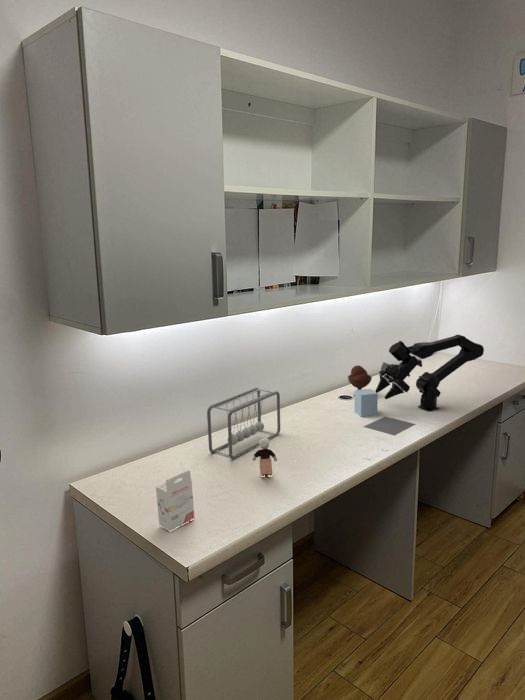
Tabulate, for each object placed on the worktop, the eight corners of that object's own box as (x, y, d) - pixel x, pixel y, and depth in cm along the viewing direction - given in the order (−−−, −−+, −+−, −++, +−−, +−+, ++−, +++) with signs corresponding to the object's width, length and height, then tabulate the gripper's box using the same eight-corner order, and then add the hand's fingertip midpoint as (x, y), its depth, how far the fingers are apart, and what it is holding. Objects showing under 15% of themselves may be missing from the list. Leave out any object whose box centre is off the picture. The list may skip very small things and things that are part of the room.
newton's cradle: (259, 428, 209) (258, 386, 205) (281, 434, 202) (280, 390, 199) (208, 454, 185) (206, 406, 181) (231, 461, 179) (229, 412, 175)
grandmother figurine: (275, 471, 170) (275, 435, 167) (278, 477, 166) (277, 439, 163) (252, 474, 169) (251, 437, 166) (254, 479, 165) (252, 441, 162)
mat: (385, 417, 218) (385, 416, 218) (415, 425, 208) (415, 424, 208) (363, 427, 207) (363, 426, 207) (394, 436, 197) (394, 435, 197)
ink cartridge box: (183, 514, 146) (179, 464, 142) (194, 520, 142) (191, 469, 139) (158, 527, 139) (154, 475, 136) (169, 533, 136) (166, 481, 133)
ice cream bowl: (371, 399, 241) (372, 368, 238) (347, 399, 243) (347, 367, 240) (371, 393, 251) (372, 362, 248) (348, 392, 253) (348, 362, 250)
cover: (370, 411, 226) (370, 388, 224) (377, 416, 219) (377, 393, 217) (354, 412, 224) (354, 390, 222) (361, 418, 217) (361, 395, 215)
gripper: (383, 351, 228) (359, 378, 228) (403, 360, 210) (377, 389, 210) (399, 367, 231) (376, 393, 231) (420, 377, 213) (395, 406, 213)
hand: (380, 395), depth 221 cm, fingers open, 9 cm apart
